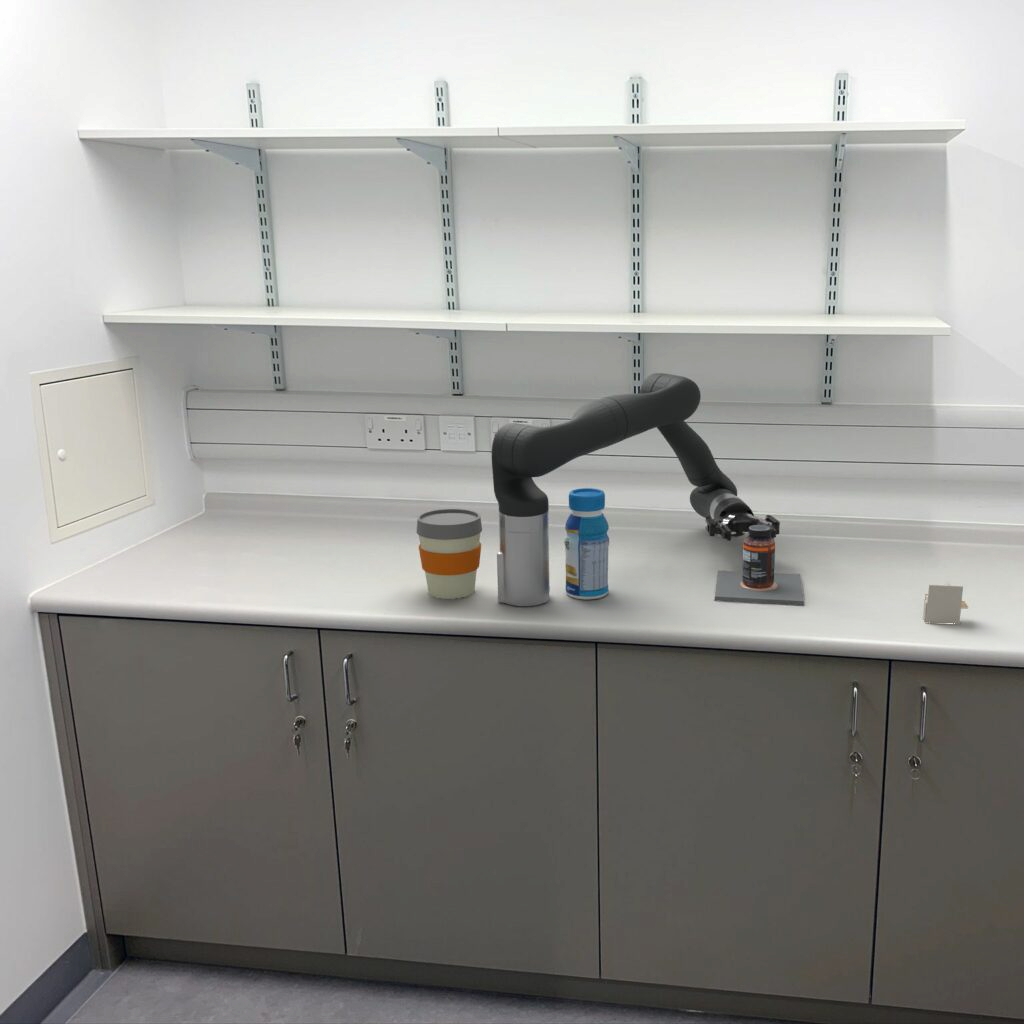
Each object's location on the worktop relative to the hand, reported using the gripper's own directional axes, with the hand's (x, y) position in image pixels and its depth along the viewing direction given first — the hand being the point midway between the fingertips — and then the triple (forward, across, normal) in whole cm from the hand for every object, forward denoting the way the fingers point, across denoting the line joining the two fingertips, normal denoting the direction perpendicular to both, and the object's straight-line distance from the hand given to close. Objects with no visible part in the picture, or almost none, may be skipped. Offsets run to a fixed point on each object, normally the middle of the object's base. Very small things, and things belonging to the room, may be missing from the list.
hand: (750, 535), depth 206 cm
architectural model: (+27, +26, +9) cm, 39 cm away
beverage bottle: (+6, -33, +9) cm, 35 cm away
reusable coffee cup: (+3, -59, +9) cm, 60 cm away
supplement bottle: (+7, 0, +8) cm, 10 cm away
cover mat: (+7, 0, +9) cm, 11 cm away
